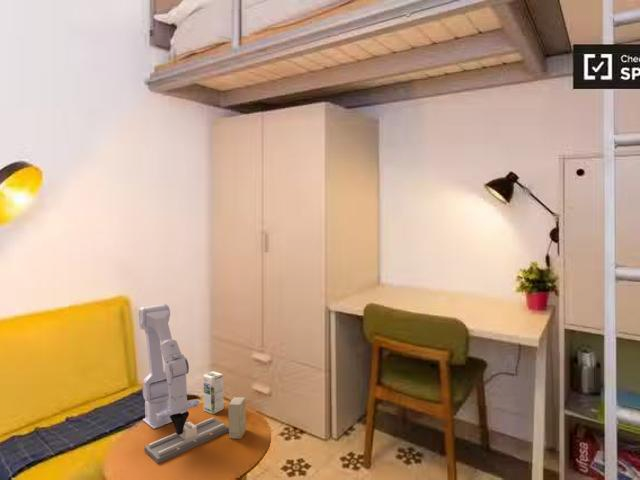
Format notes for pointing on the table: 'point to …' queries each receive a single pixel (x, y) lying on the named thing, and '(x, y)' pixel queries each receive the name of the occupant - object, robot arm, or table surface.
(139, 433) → the table surface
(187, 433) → the fader tab
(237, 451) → the table surface
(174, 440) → the gray slider track
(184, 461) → the table surface
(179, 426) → the robot arm
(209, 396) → the syrup box
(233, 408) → the skincare box
